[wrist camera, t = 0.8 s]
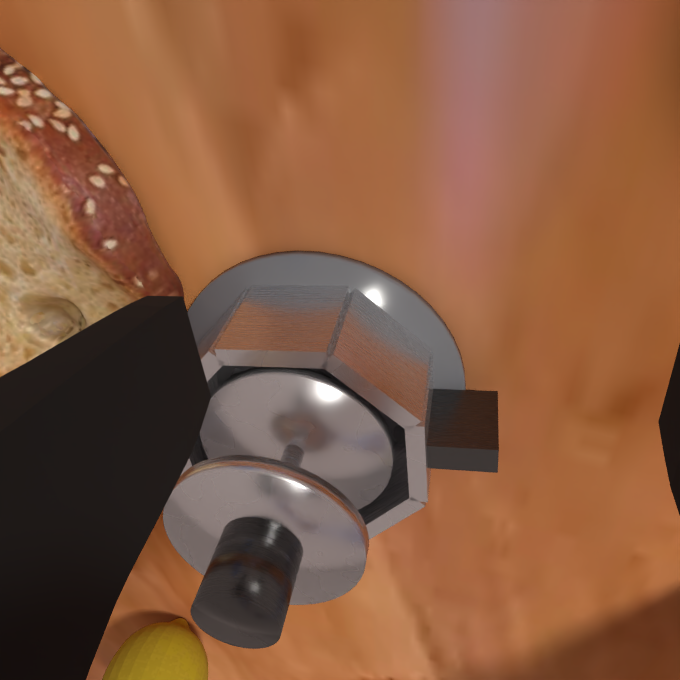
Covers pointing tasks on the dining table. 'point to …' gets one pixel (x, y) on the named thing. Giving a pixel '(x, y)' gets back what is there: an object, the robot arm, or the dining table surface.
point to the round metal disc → (335, 272)
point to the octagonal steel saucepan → (359, 382)
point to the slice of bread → (63, 225)
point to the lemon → (160, 654)
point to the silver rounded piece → (277, 499)
